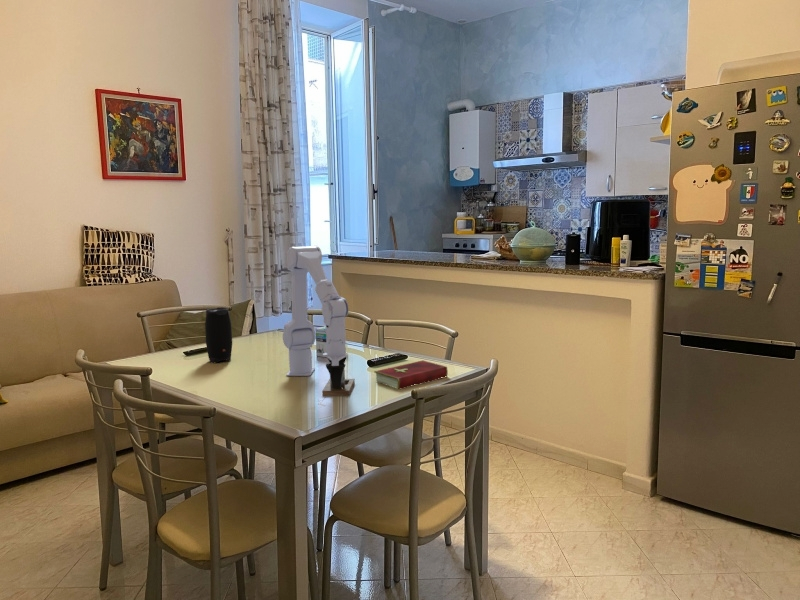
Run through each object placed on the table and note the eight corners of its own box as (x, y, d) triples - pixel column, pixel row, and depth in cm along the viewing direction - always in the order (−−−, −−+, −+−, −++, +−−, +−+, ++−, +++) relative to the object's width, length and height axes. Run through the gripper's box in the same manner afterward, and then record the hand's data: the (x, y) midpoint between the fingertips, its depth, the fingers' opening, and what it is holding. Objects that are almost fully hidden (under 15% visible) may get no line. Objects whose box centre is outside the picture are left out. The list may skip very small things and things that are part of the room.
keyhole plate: (329, 383, 193) (329, 378, 193) (354, 383, 192) (354, 378, 192) (322, 395, 180) (322, 390, 180) (349, 395, 180) (349, 390, 179)
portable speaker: (232, 362, 222) (230, 309, 219) (206, 364, 220) (202, 311, 217) (233, 357, 231) (230, 306, 228) (207, 358, 228) (204, 307, 225)
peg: (336, 389, 186) (335, 368, 185) (348, 391, 184) (347, 369, 183) (327, 393, 182) (326, 371, 181) (339, 395, 180) (338, 373, 179)
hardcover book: (447, 378, 199) (447, 365, 198) (398, 391, 185) (398, 377, 185) (423, 371, 208) (422, 359, 207) (374, 383, 194) (374, 370, 194)
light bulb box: (329, 358, 227) (328, 330, 225) (315, 356, 230) (314, 328, 229) (346, 352, 236) (345, 325, 234) (332, 350, 239) (332, 323, 238)
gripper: (324, 334, 188) (325, 377, 190) (320, 344, 173) (322, 390, 175) (347, 334, 188) (348, 376, 190) (345, 344, 174) (346, 390, 176)
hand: (337, 383), depth 183 cm, fingers open, 7 cm apart
